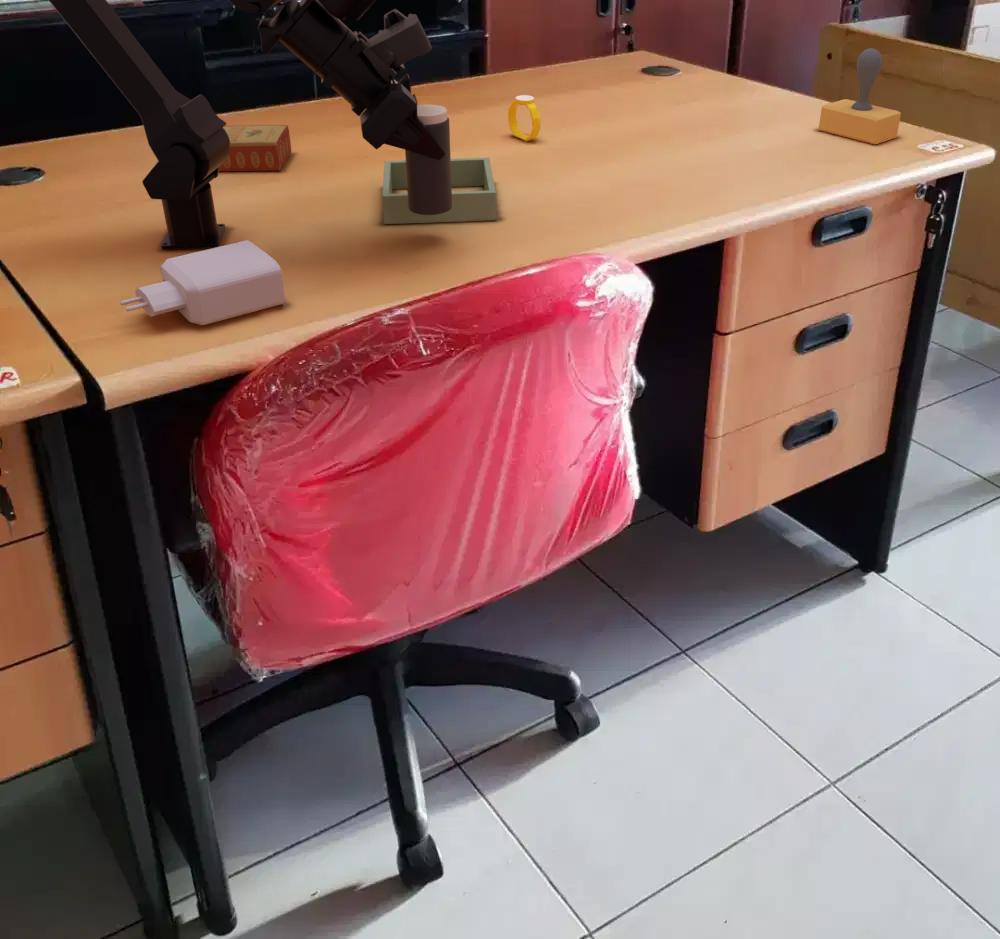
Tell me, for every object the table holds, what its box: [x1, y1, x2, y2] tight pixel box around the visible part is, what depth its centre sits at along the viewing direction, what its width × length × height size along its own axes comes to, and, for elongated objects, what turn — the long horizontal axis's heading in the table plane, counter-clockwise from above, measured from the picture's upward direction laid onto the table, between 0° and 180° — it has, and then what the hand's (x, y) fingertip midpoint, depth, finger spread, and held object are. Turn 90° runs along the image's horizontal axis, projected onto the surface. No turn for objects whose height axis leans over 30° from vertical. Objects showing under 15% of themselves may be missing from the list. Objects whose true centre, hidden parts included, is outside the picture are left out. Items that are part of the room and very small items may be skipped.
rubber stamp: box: [817, 47, 902, 145], centre depth 155 cm, size 10×6×12 cm, turn 40°
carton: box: [219, 124, 292, 172], centre depth 149 cm, size 8×16×4 cm, turn 89°
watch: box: [507, 94, 542, 142], centre depth 157 cm, size 6×3×6 cm, turn 38°
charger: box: [119, 239, 286, 326], centre depth 109 cm, size 5×9×15 cm
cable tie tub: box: [404, 104, 453, 215], centre depth 120 cm, size 5×5×11 cm
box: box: [381, 157, 497, 225], centre depth 135 cm, size 14×14×4 cm
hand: (440, 149), depth 120 cm, fingers closed on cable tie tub, 5 cm apart
